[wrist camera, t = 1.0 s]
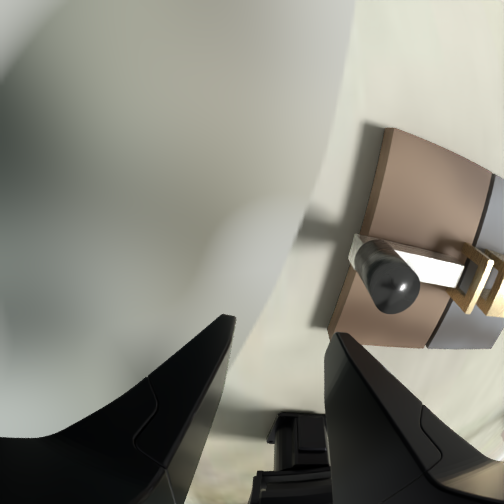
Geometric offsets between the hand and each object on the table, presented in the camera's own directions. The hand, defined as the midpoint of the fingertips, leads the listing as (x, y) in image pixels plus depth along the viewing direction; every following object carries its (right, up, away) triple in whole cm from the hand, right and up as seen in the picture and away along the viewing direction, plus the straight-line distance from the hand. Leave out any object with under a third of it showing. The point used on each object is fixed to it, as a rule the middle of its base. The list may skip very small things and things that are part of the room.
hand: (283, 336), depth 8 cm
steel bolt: (+9, +2, +9) cm, 12 cm away
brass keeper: (+17, +1, +9) cm, 19 cm away
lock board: (+16, +2, +10) cm, 19 cm away
